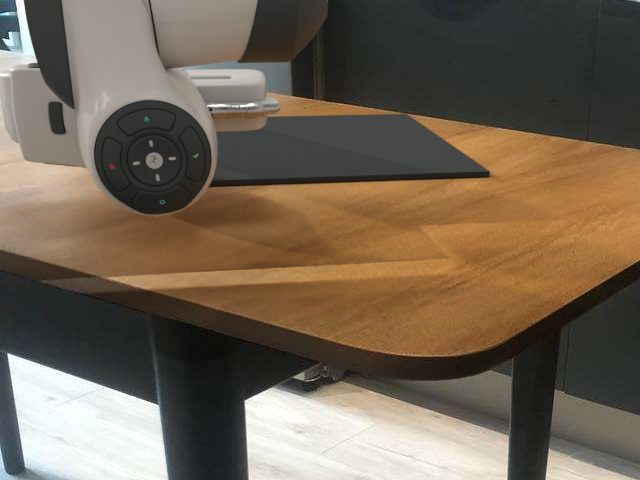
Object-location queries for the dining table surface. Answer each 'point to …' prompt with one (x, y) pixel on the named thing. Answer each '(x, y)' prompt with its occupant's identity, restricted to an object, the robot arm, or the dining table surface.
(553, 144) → the dining table surface
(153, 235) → the dining table surface
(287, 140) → the mat
